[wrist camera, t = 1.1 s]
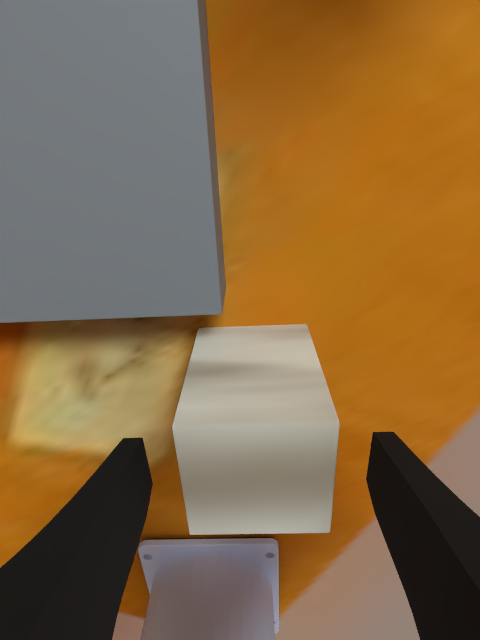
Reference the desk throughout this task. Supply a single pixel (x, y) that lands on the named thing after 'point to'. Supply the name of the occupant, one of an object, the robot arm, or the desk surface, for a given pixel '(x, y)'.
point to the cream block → (256, 433)
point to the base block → (107, 161)
